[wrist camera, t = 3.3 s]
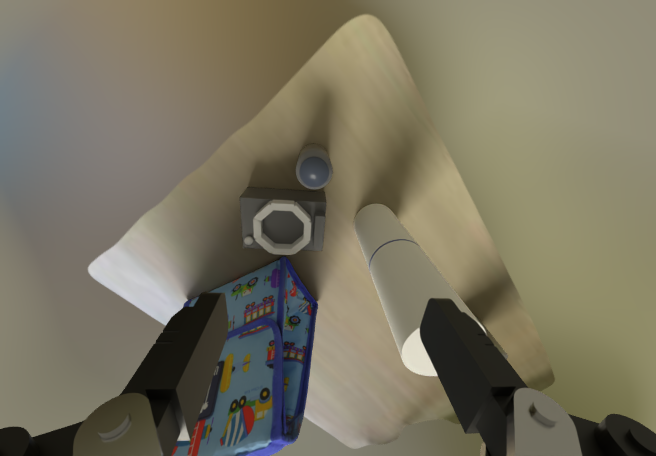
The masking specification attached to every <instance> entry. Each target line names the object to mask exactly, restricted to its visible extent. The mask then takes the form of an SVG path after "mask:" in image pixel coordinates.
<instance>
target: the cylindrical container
mask: <svg viewBox="0 0 656 456" xmlns="http://www.w3.org/2000/svg"><path fill="white" fill-rule="evenodd" d="M354 230H355V233H356V235H357V238H358V241H359V244H360V246H361V249H362V252H363V254H364V257H365V260H366V263H367V265H368V268H369V271H370V273H371V276H372V279H373V282H374V284H375V287H376V290H377V293H378V295H379V298H380V301H381V304H382V306H383V309H384V312H385V314H386V317H387V320H388V323H389V325H390V328H391V331H392V333H393V336H394V339H395V342H396V344H397V347H398V350H399V353H400V355H401V358H402V361H403V363H404V364H405V366H406V367H407V368H408V369H409V370H411V371H412V372H414V373H417V374H420V375H425V376H438V375H437V373H436V371H435V369H434V367H433V364H432V362H431V360H430V358H429V356H428V354H427V352H426V350H425V348H424V346H423V343H422V341H421V338H420V324H421V321H422V318H423V315H424V312H425V309H426V306H427V303H428V301H429V299H430V298H449V299H451V300H453V302H454V303H455V304H456V306H457V307H458V308H459V310H460V311H461V312H465V313H466V314H467V315H469V316H470V317H471V318H472V319H474V320H475V321H476V322H477V323H478V324H479V325H480V327H481V328H482V329H483V330H484V332H485V333H486V331H485V329H484V327H483V326H482V325H481V324H480V322H479V321H478V320H477V318H476V317H475V316H474V315H473V313H472V312H471V311H470V310H469V308H468V307H467V306H466V304H465V303H464V302H463V301H462V299H461V298H460V297H459V296H458V294H457V293H456V292H455V291H454V289H453V288H452V287H451V285H450V284H449V283H448V282H447V280H446V279H445V278H444V277H443V275H442V274H441V273H440V271H439V270H438V269H437V268H436V266H435V265H434V264H433V263H432V261H431V260H430V259H429V257H428V256H427V255H426V254H425V252H424V251H423V250H422V249H421V247H420V246H419V245H418V244H417V242H416V241H415V240H414V239H413V237H412V236H411V235H410V233H409V232H408V231H407V230H406V228H405V227H404V226H403V225H402V223H401V222H400V221H399V220H398V218H397V217H396V216H395V215H394V213H393V212H392V211H391V209H390V208H388V207H387V206H385V205H383V204H370V205H367V206H365V207H363V208H362V209H361V210H360V211H359V212H358V213H357V215H356V216H355V219H354Z"/></svg>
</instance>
